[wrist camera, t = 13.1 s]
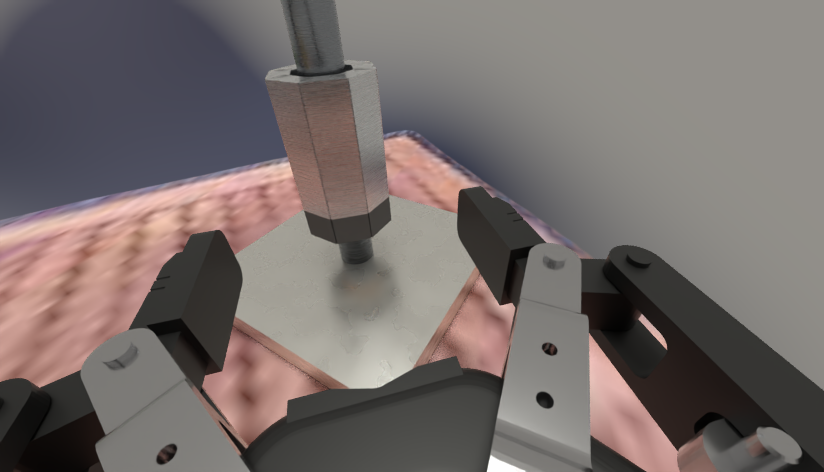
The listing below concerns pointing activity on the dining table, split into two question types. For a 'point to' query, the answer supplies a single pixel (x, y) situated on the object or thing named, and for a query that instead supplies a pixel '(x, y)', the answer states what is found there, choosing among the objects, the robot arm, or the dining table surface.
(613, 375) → the dining table surface
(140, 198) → the dining table surface
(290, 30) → the pipe stand
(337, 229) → the black hex nut
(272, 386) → the dining table surface
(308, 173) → the metal sleeve
